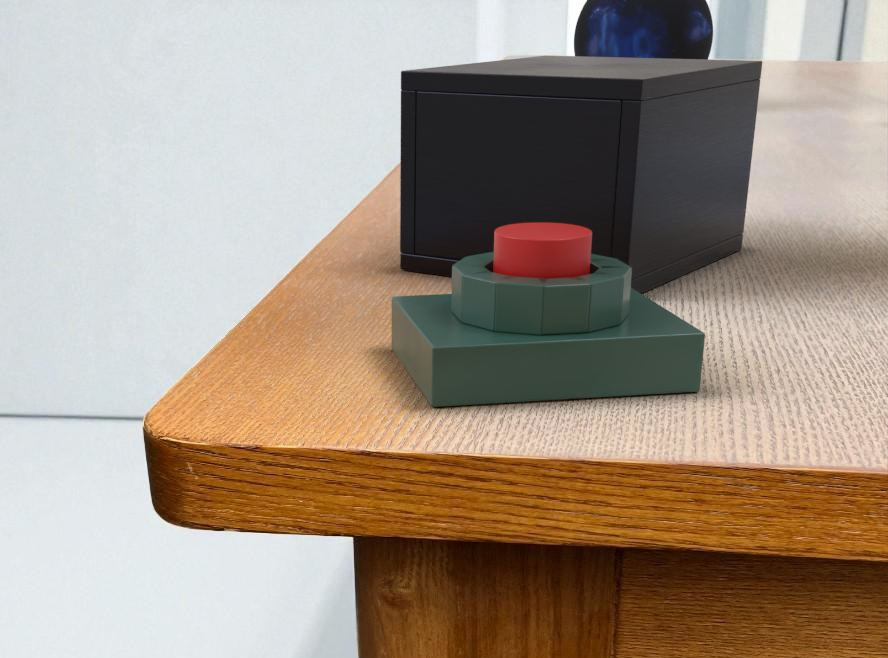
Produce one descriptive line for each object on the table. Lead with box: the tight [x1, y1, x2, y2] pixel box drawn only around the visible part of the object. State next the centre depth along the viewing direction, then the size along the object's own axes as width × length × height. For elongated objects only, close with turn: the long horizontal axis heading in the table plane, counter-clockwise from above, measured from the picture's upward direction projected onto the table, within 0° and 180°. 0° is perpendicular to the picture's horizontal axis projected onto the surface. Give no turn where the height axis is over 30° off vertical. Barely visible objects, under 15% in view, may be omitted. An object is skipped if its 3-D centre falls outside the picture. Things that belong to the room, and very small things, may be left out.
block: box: [391, 252, 706, 408], centre depth 49 cm, size 10×8×4 cm
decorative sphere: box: [573, 0, 714, 60], centre depth 143 cm, size 15×15×15 cm
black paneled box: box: [399, 55, 763, 294], centre depth 67 cm, size 15×13×10 cm
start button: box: [493, 222, 592, 279], centre depth 48 cm, size 4×4×2 cm
